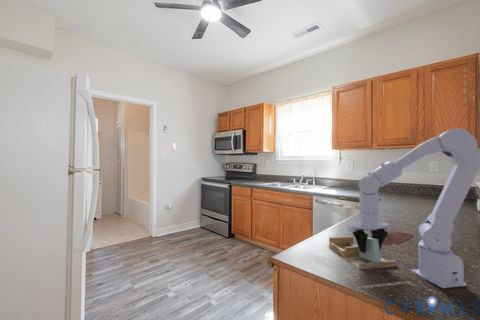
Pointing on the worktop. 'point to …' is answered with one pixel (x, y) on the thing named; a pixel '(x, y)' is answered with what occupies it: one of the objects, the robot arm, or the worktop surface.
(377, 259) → the panel
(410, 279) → the worktop surface
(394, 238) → the wooden tablet
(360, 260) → the felt pad
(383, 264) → the rack
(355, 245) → the offcut
